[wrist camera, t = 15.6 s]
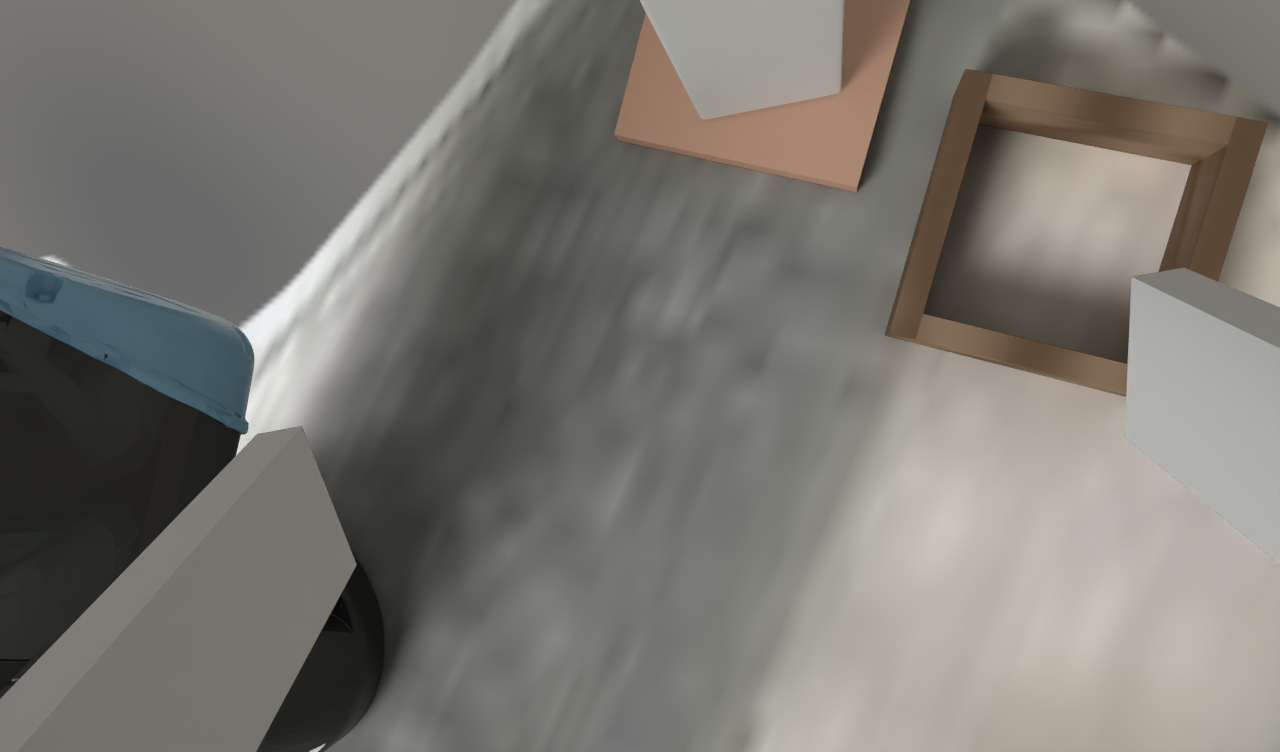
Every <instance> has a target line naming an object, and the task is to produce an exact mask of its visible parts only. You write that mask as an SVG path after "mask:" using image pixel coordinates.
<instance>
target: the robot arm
mask: <svg viewBox="0 0 1280 752" xmlns="http://www.w3.org/2000/svg"><path fill="white" fill-rule="evenodd" d="M253 369H254V353H253V349H252V346H251V344H250V342H249V340H248V338H247V337H246V336H245V334H244V333H243V332H242V331H241V330H240V329H239V328H238V327H236V326H235V325H234V324H232V323H231V322H229V321H227V320H225V319H223V318H220V317H218V316H216V315H213V314H211V313H208V312H206V311H203V310H200V309H197V308H195V307H192V306H189V305H186V304H183V303H181V302H178V301H175V300H172V299H169V298H166V297H163V296H160V295H157V294H154V293H151V292H148V291H145V290H142V289H138V288H135V287H132V286H129V285H126V284H123V283H120V282H116V281H113V280H110V279H107V278H103V277H100V276H97V275H93V274H90V273H87V272H84V271H81V270H77V269H74V268H71V267H68V266H64V265H61V264H58V263H54V262H51V261H47V260H44V259H41V258H37V257H33V256H30V255H27V254H23V253H20V252H16V251H12V250H9V249H5V248H2V247H0V752H324V751H325V750H327V749H328V748H329V747H331V746H332V745H333V744H335V743H336V742H337V741H339V740H340V739H341V738H343V737H344V736H345V735H346V734H347V733H348V732H349V731H350V730H351V729H352V728H353V727H354V726H355V725H356V724H357V723H358V721H359V720H360V719H361V717H362V716H363V714H364V713H365V711H366V710H367V708H368V706H369V704H370V702H371V700H372V698H373V696H374V693H375V691H376V688H377V685H378V681H379V678H380V673H381V669H382V661H383V643H384V640H383V628H382V620H381V615H380V611H379V607H378V603H377V600H376V597H375V594H374V592H373V589H372V587H371V584H370V582H369V580H368V578H367V576H366V575H365V573H364V571H363V569H362V568H361V566H360V565H359V563H358V562H357V560H356V559H355V558H354V556H353V554H352V552H351V549H350V547H349V544H348V542H347V539H346V536H345V534H344V531H343V529H342V526H341V524H340V521H339V519H338V516H337V514H336V511H335V509H334V506H333V504H332V501H331V499H330V496H329V494H328V491H327V488H326V486H325V483H324V481H323V478H322V476H321V473H320V471H319V468H318V466H317V463H316V461H315V458H314V456H313V453H312V451H311V448H310V446H309V443H308V440H307V438H306V435H305V433H304V430H303V428H302V426H300V427H294V428H288V429H283V430H277V431H272V432H266V433H261V434H257V435H256V436H255V437H254V438H253V439H252V440H251V441H250V442H249V443H248V444H247V445H246V446H245V447H244V448H243V449H242V450H241V451H240V452H239V453H238V454H237V455H236V453H237V448H238V444H239V440H240V435H241V434H246V433H247V432H248V422H247V421H246V420H245V414H246V409H247V403H248V397H249V392H250V386H251V381H252V375H253ZM1125 438H1126V439H1127V440H1128V441H1129V442H1130V443H1132V444H1133V445H1134V446H1135V447H1137V448H1138V449H1139V450H1140V451H1141V452H1143V453H1144V454H1145V455H1146V456H1147V457H1149V458H1150V459H1151V460H1152V461H1154V462H1155V463H1156V464H1157V465H1158V466H1160V467H1161V468H1162V469H1163V470H1165V471H1166V472H1167V473H1168V474H1169V475H1171V476H1172V477H1173V478H1174V479H1176V480H1177V481H1178V482H1179V483H1180V484H1182V485H1183V486H1184V487H1185V488H1187V489H1188V490H1189V491H1190V492H1191V493H1193V494H1194V495H1195V496H1196V497H1197V498H1199V499H1200V500H1201V501H1202V502H1204V503H1205V504H1206V505H1207V506H1208V507H1210V508H1211V509H1212V510H1213V511H1215V512H1216V513H1217V514H1218V515H1219V516H1221V517H1222V518H1223V519H1224V520H1226V521H1227V522H1228V523H1229V524H1230V525H1232V526H1233V527H1234V528H1235V529H1237V530H1238V531H1239V532H1240V533H1241V534H1243V535H1244V536H1245V537H1246V538H1248V539H1249V540H1250V541H1251V542H1252V543H1254V544H1255V545H1256V546H1257V547H1258V548H1260V549H1261V550H1262V551H1263V552H1265V553H1266V554H1267V555H1268V556H1269V557H1271V558H1272V559H1273V560H1274V561H1276V562H1277V563H1278V564H1279V565H1280V307H1277V306H1275V305H1272V304H1270V303H1268V302H1265V301H1263V300H1260V299H1258V298H1256V297H1253V296H1251V295H1248V294H1246V293H1244V292H1241V291H1239V290H1236V289H1234V288H1232V287H1229V286H1227V285H1224V284H1222V283H1220V282H1217V281H1215V280H1213V279H1210V278H1208V277H1205V276H1203V275H1201V274H1198V273H1196V272H1193V271H1191V270H1189V269H1186V268H1179V269H1173V270H1168V271H1162V272H1157V273H1151V274H1146V275H1140V276H1134V277H1132V278H1131V301H1130V324H1129V347H1128V370H1127V392H1126V415H1125Z"/></svg>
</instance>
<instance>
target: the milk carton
mask: <svg viewBox="0 0 1280 752" xmlns="http://www.w3.org/2000/svg"><path fill="white" fill-rule="evenodd" d="M640 2H641V4H642V6H643V8H644V10H645V12H646V14H647V16H648V18H649V20H650V21H651V23H652V25H653V27H654V29H655V31H656V33H657V35H658V37H659V39H660V41H661V43H662V45H663V46H664V48H665V50H666V52H667V54H668V56H669V58H670V60H671V62H672V64H673V66H674V68H675V70H676V71H677V73H678V75H679V77H680V79H681V81H682V83H683V85H684V87H685V89H686V91H687V93H688V95H689V97H690V98H691V100H692V102H693V104H694V106H695V108H696V110H697V112H698V114H699V116H700V118H701V119H712V118H717V117H723V116H728V115H733V114H738V113H743V112H748V111H753V110H758V109H763V108H768V107H773V106H778V105H784V104H789V103H794V102H799V101H804V100H809V99H814V98H819V97H824V96H829V95H834V94H837V93H839V92H840V91H841V86H842V59H843V31H844V4H845V0H640Z"/></svg>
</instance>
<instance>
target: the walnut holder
mask: <svg viewBox="0 0 1280 752" xmlns="http://www.w3.org/2000/svg"><path fill="white" fill-rule="evenodd" d="M978 124H980V125H985V126H991V127H996V128H1001V129H1006V130H1012V131H1017V132H1022V133H1027V134H1032V135H1038V136H1043V137H1048V138H1053V139H1058V140H1064V141H1069V142H1074V143H1079V144H1084V145H1090V146H1095V147H1100V148H1105V149H1111V150H1116V151H1121V152H1126V153H1131V154H1137V155H1142V156H1147V157H1152V158H1157V159H1163V160H1168V161H1173V162H1178V163H1183V164H1189V165H1192V167H1191V170H1190V173H1189V177H1188V180H1187V183H1186V186H1185V189H1184V193H1183V196H1182V199H1181V202H1180V205H1179V209H1178V212H1177V215H1176V218H1175V221H1174V225H1173V228H1172V231H1171V234H1170V238H1169V241H1168V244H1167V247H1166V250H1165V254H1164V257H1163V260H1162V263H1161V266H1160V270H1159V272H1162V271H1168V270H1173V269H1179V268H1186V269H1189V270H1191V271H1193V272H1196V273H1198V274H1201V275H1203V276H1205V277H1208V278H1210V279H1213V280H1215V281H1217V282H1218V279H1219V276H1220V273H1221V269H1222V266H1223V263H1224V260H1225V257H1226V254H1227V251H1228V247H1229V244H1230V241H1231V238H1232V235H1233V232H1234V228H1235V225H1236V222H1237V219H1238V216H1239V213H1240V210H1241V206H1242V203H1243V200H1244V197H1245V194H1246V191H1247V187H1248V184H1249V181H1250V178H1251V175H1252V172H1253V168H1254V165H1255V162H1256V159H1257V156H1258V153H1259V150H1260V146H1261V143H1262V140H1263V137H1264V134H1265V131H1266V127H1267V124H1268V123H1267V122H1262V121H1256V120H1250V119H1245V118H1239V117H1234V116H1228V115H1222V114H1217V113H1211V112H1205V111H1200V110H1194V109H1189V108H1183V107H1177V106H1172V105H1166V104H1160V103H1155V102H1149V101H1144V100H1138V99H1132V98H1127V97H1121V96H1115V95H1110V94H1104V93H1099V92H1093V91H1087V90H1082V89H1076V88H1070V87H1065V86H1059V85H1054V84H1048V83H1042V82H1037V81H1031V80H1025V79H1020V78H1014V77H1009V76H1003V75H997V74H992V73H986V72H980V71H975V70H969V69H965V72H964V74H963V76H962V78H961V81H960V83H959V85H958V87H957V90H956V92H955V94H954V97H953V101H952V104H951V108H950V111H949V115H948V118H947V121H946V125H945V128H944V132H943V135H942V139H941V142H940V146H939V149H938V153H937V156H936V160H935V163H934V166H933V170H932V173H931V177H930V180H929V184H928V187H927V191H926V194H925V198H924V201H923V205H922V208H921V212H920V215H919V218H918V222H917V225H916V229H915V232H914V236H913V239H912V243H911V246H910V250H909V253H908V257H907V260H906V263H905V267H904V270H903V274H902V277H901V281H900V284H899V288H898V291H897V295H896V298H895V302H894V305H893V309H892V312H891V315H890V319H889V322H888V326H887V329H886V333H885V335H886V336H889V337H893V338H897V339H901V340H905V341H909V342H913V343H917V344H921V345H925V346H929V347H933V348H937V349H941V350H944V351H948V352H952V353H956V354H960V355H964V356H968V357H972V358H976V359H980V360H984V361H988V362H992V363H996V364H999V365H1003V366H1007V367H1011V368H1015V369H1019V370H1023V371H1027V372H1031V373H1035V374H1039V375H1043V376H1047V377H1051V378H1055V379H1058V380H1062V381H1066V382H1070V383H1074V384H1078V385H1082V386H1086V387H1090V388H1094V389H1098V390H1102V391H1106V392H1110V393H1113V394H1117V395H1121V396H1125V397H1126V392H1127V370H1128V364H1125V363H1121V362H1117V361H1113V360H1109V359H1105V358H1101V357H1097V356H1093V355H1089V354H1085V353H1081V352H1077V351H1073V350H1068V349H1064V348H1060V347H1056V346H1052V345H1048V344H1044V343H1040V342H1036V341H1032V340H1028V339H1024V338H1020V337H1016V336H1012V335H1008V334H1003V333H999V332H995V331H991V330H987V329H983V328H979V327H975V326H971V325H967V324H963V323H959V322H955V321H951V320H947V319H942V318H938V317H934V316H930V315H926V314H923V312H924V309H925V305H926V302H927V298H928V295H929V292H930V288H931V285H932V281H933V278H934V274H935V271H936V268H937V264H938V261H939V257H940V254H941V250H942V247H943V244H944V240H945V237H946V233H947V230H948V226H949V223H950V220H951V216H952V213H953V209H954V206H955V202H956V199H957V196H958V192H959V189H960V185H961V182H962V178H963V175H964V172H965V168H966V165H967V161H968V158H969V154H970V151H971V147H972V144H973V141H974V137H975V134H976V130H977V127H978Z"/></svg>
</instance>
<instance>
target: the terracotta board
mask: <svg viewBox="0 0 1280 752" xmlns="http://www.w3.org/2000/svg"><path fill="white" fill-rule="evenodd" d="M910 1H911V0H845V4H844V31H843V59H842V86H841V91H840V92H839V93H837V94H834V95H829V96H824V97H819V98H814V99H809V100H804V101H799V102H794V103H789V104H784V105H778V106H773V107H768V108H763V109H758V110H753V111H748V112H743V113H738V114H733V115H728V116H723V117H717V118H712V119H701V118H700V116H699V114H698V112H697V110H696V108H695V106H694V104H693V102H692V100H691V98H690V97H689V95H688V93H687V91H686V89H685V87H684V85H683V83H682V81H681V79H680V77H679V75H678V73H677V71H676V70H675V68H674V66H673V64H672V62H671V60H670V58H669V56H668V54H667V52H666V50H665V48H664V46H663V45H662V43H661V41H660V39H659V37H658V35H657V33H656V31H655V29H654V27H653V25H652V23H651V21H650V20H649V18H648V16H647V14H646V13H645V17H644V21H643V25H642V29H641V32H640V36H639V40H638V44H637V48H636V52H635V55H634V59H633V63H632V67H631V71H630V75H629V79H628V82H627V86H626V90H625V94H624V98H623V102H622V106H621V109H620V113H619V117H618V121H617V125H616V129H615V132H614V135H615V136H616V137H617V138H618V140H619V141H623V142H628V143H632V144H637V145H641V146H646V147H651V148H655V149H660V150H664V151H669V152H674V153H678V154H683V155H687V156H692V157H697V158H701V159H706V160H710V161H715V162H720V163H724V164H729V165H733V166H738V167H743V168H747V169H752V170H756V171H761V172H766V173H770V174H775V175H780V176H784V177H789V178H793V179H798V180H803V181H807V182H812V183H816V184H821V185H826V186H830V187H835V188H839V189H844V190H849V191H853V192H857V189H858V185H859V182H860V178H861V175H862V171H863V167H864V164H865V160H866V157H867V153H868V150H869V146H870V143H871V139H872V136H873V132H874V129H875V125H876V121H877V118H878V114H879V111H880V107H881V104H882V100H883V97H884V93H885V90H886V86H887V82H888V79H889V75H890V72H891V68H892V65H893V61H894V58H895V54H896V51H897V47H898V44H899V40H900V36H901V33H902V29H903V26H904V22H905V19H906V15H907V12H908V8H909V5H910Z"/></svg>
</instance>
